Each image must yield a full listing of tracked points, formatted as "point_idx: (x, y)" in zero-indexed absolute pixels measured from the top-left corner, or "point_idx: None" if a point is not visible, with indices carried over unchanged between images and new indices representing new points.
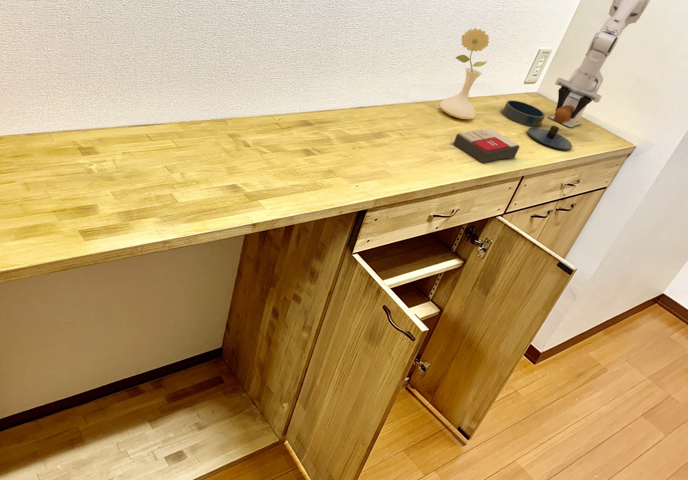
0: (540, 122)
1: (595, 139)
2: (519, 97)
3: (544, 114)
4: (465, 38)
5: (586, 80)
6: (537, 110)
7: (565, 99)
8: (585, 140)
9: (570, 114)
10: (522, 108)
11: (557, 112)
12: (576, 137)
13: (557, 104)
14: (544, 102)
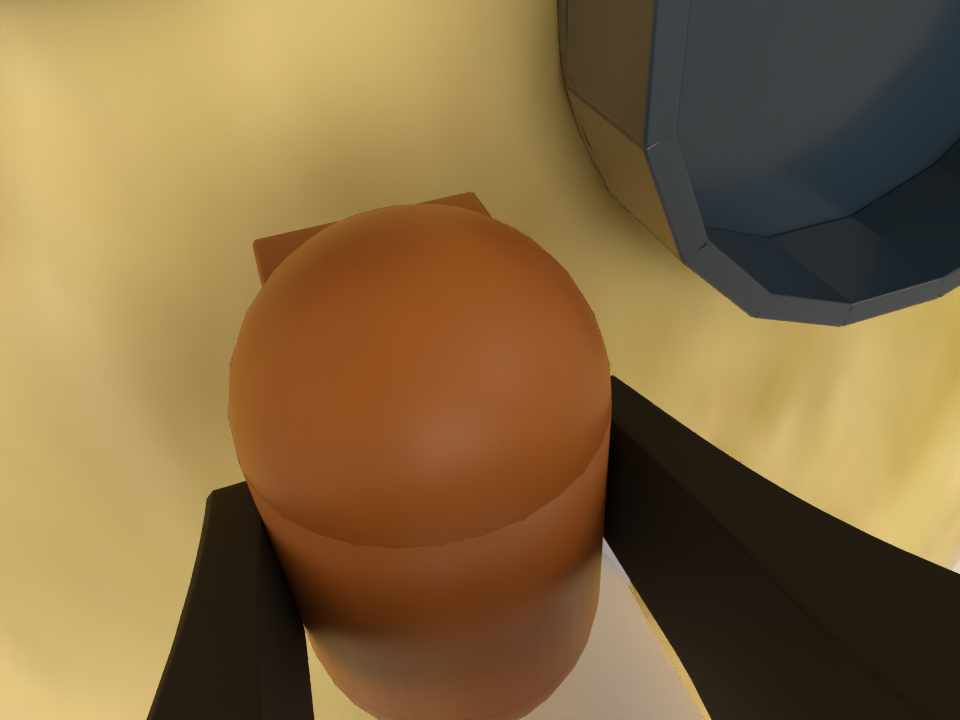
0: (591, 37)
1: (64, 704)
2: (950, 509)
3: (686, 245)
4: None
5: None
6: (809, 291)
7: (708, 702)
8: (9, 554)
9: (255, 483)
10: (950, 199)
11: (515, 245)
12: (110, 478)
13: (713, 448)
14: None
